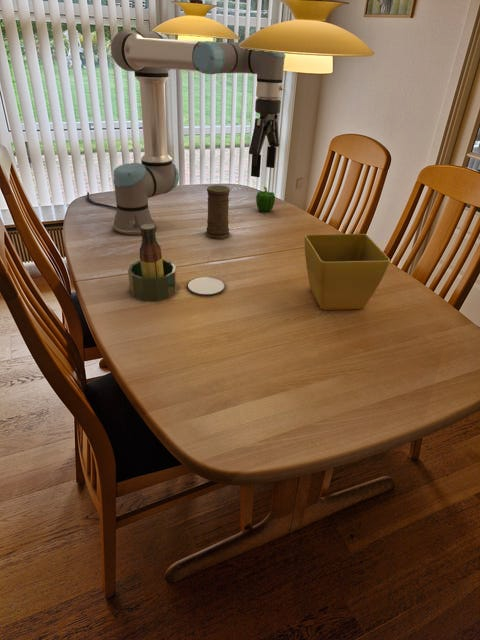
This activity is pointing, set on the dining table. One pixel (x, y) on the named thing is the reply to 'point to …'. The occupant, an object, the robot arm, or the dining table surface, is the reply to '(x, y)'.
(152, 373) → the dining table surface
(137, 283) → the crock
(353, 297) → the flower pot
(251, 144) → the robot arm
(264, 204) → the bell pepper
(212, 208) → the container
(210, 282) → the coaster
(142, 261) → the sauce bottle
